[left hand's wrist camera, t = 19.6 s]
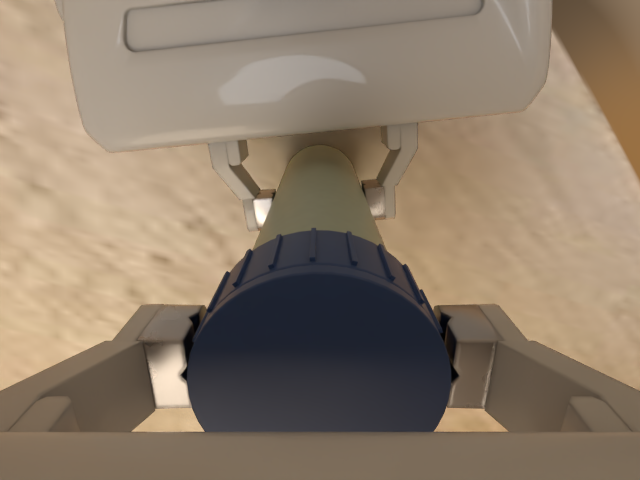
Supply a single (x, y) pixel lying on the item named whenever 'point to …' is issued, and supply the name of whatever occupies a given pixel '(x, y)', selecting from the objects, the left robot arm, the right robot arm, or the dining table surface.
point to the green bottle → (319, 198)
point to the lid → (319, 342)
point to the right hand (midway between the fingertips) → (322, 222)
